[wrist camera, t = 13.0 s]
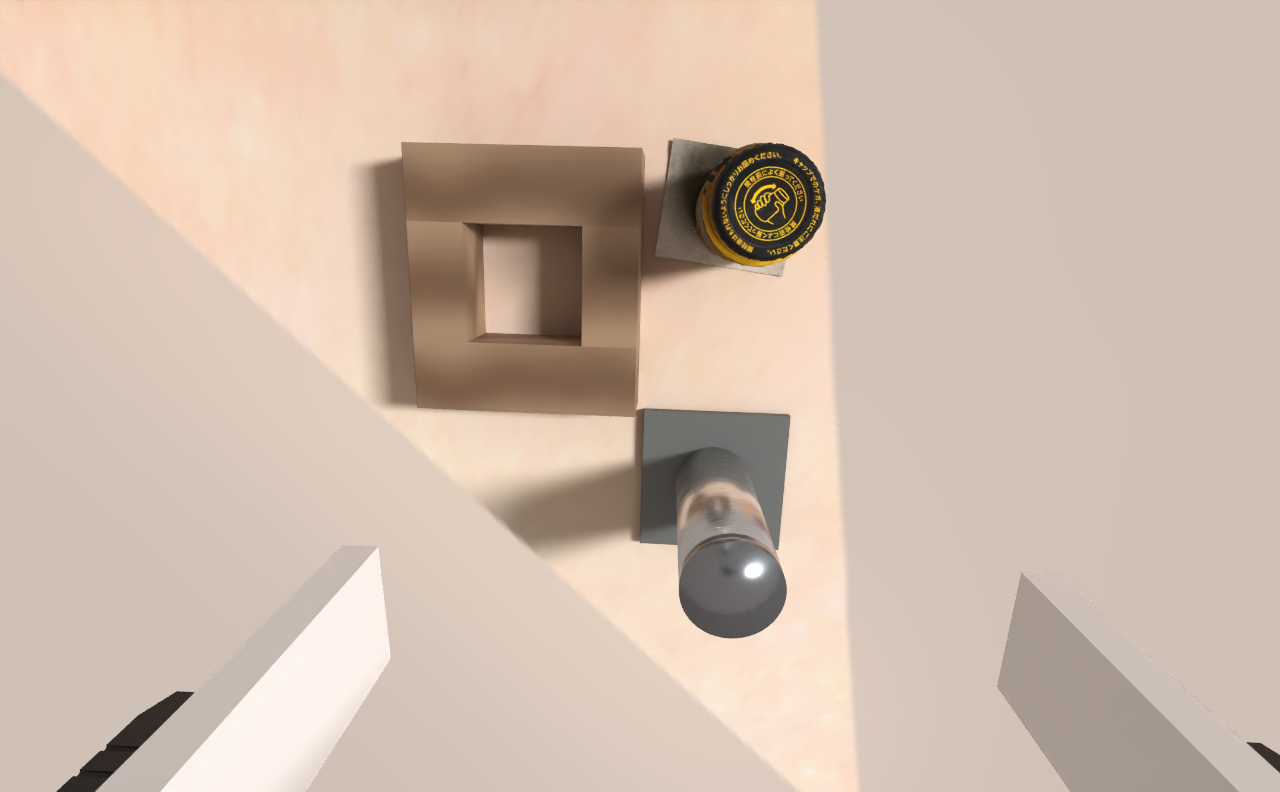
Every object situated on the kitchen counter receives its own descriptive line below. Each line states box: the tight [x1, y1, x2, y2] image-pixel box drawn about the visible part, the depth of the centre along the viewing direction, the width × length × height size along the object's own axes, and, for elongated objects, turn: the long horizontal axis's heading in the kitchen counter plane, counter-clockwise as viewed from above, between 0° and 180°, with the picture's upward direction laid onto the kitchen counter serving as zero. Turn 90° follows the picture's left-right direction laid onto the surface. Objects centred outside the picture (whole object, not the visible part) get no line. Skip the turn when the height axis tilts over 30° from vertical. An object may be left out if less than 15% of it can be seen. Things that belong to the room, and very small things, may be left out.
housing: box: [401, 142, 645, 417], centre depth 39 cm, size 16×14×4 cm
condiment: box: [655, 138, 826, 276], centre depth 34 cm, size 7×8×12 cm
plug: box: [676, 447, 787, 638], centre depth 37 cm, size 5×5×14 cm
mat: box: [640, 409, 790, 550], centre depth 44 cm, size 10×10×1 cm
